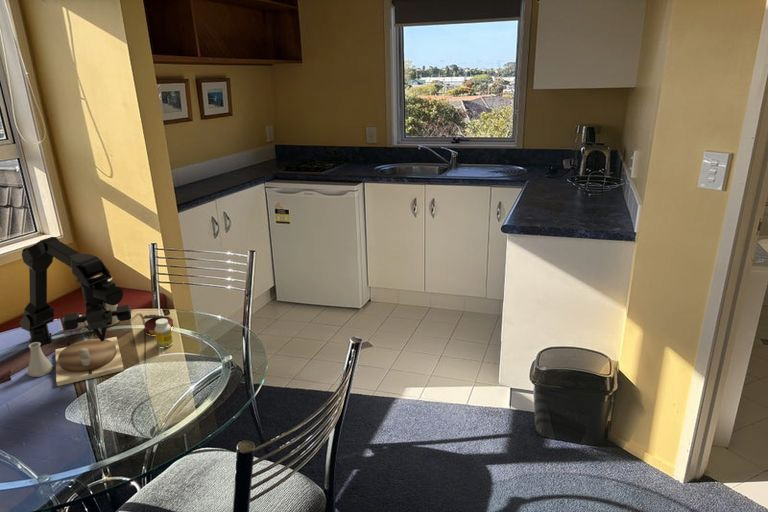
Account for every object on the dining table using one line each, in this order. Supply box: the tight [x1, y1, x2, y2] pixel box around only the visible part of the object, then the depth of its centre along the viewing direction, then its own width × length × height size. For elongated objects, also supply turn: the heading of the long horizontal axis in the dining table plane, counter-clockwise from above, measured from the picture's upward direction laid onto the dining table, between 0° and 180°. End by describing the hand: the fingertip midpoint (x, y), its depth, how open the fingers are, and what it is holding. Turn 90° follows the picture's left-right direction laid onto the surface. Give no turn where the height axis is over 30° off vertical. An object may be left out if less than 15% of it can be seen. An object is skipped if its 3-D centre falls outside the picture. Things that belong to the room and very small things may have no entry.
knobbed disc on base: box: [58, 338, 116, 372], centre depth 182 cm, size 17×17×7 cm
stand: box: [55, 336, 125, 387], centre depth 184 cm, size 21×19×2 cm
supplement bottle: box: [155, 318, 174, 348], centre depth 194 cm, size 5×5×10 cm
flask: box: [26, 342, 55, 378], centre depth 177 cm, size 7×7×10 cm
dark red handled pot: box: [142, 314, 174, 335], centre depth 204 cm, size 11×10×10 cm
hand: (102, 340), depth 176 cm, fingers closed
